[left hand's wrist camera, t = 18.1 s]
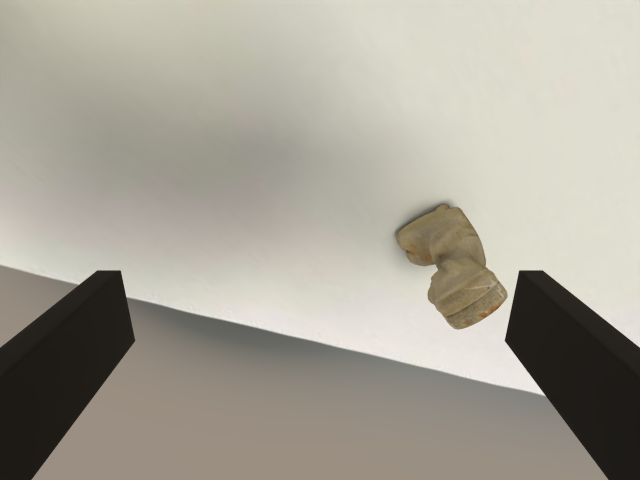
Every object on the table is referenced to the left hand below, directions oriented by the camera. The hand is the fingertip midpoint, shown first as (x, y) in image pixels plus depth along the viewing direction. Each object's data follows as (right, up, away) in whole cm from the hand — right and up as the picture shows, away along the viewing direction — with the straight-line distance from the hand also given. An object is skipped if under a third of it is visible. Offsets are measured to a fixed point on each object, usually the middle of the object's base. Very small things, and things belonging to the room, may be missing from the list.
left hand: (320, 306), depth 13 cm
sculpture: (+12, +4, +29) cm, 32 cm away
